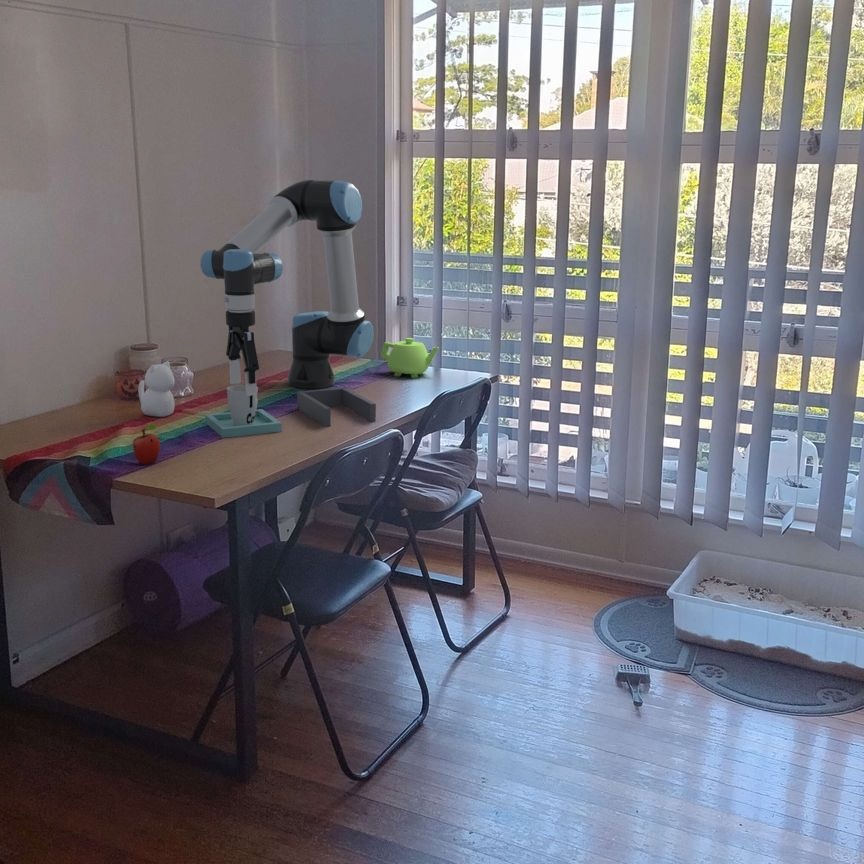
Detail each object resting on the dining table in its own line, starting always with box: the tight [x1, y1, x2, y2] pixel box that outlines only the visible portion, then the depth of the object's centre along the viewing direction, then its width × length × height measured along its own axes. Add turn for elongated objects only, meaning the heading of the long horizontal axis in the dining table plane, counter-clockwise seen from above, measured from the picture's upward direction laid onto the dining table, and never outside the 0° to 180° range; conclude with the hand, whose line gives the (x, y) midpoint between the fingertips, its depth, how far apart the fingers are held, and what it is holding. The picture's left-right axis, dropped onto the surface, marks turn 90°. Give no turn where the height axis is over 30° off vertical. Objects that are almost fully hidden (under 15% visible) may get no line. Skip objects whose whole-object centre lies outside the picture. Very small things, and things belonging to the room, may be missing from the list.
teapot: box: [380, 337, 440, 379], centre depth 327 cm, size 20×13×13 cm
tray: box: [204, 408, 283, 439], centre depth 259 cm, size 16×16×2 cm
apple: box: [132, 423, 161, 465], centre depth 225 cm, size 8×7×10 cm
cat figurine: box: [138, 360, 176, 418], centre depth 267 cm, size 9×12×15 cm
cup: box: [226, 384, 259, 426], centre depth 257 cm, size 8×8×10 cm
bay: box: [296, 386, 377, 427], centre depth 274 cm, size 22×15×5 cm
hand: (243, 389), depth 257 cm, fingers open, 13 cm apart
